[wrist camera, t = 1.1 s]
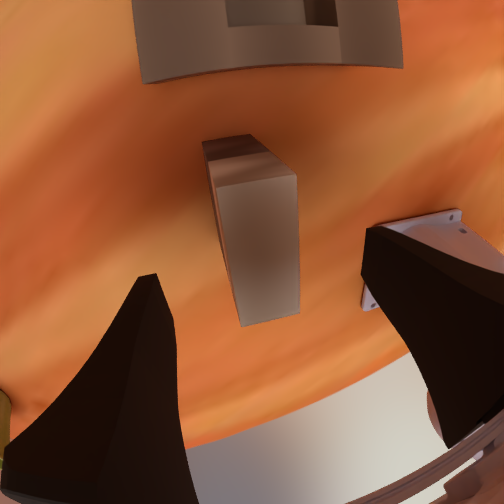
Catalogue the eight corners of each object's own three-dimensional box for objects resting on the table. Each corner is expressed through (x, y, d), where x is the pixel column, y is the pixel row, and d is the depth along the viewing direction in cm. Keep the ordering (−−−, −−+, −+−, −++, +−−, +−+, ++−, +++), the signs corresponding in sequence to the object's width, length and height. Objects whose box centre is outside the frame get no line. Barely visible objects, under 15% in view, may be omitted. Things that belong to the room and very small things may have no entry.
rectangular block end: (249, 133, 15) (296, 174, 9) (260, 232, 18) (299, 313, 12) (201, 141, 15) (216, 188, 9) (219, 241, 18) (241, 327, 12)
